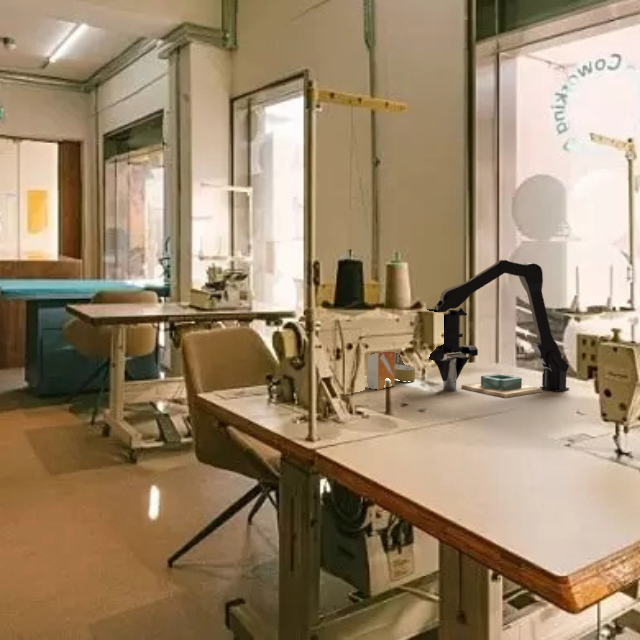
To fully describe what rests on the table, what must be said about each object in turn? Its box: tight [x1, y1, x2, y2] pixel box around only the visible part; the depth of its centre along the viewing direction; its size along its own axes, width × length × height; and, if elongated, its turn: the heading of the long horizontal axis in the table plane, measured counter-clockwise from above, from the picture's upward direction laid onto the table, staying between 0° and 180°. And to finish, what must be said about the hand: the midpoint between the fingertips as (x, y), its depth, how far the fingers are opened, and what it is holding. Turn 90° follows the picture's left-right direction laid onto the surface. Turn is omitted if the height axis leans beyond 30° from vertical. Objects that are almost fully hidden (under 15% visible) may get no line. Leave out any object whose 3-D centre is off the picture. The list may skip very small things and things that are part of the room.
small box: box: [367, 352, 396, 391], centre depth 235 cm, size 8×6×13 cm
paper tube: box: [395, 353, 416, 383], centre depth 245 cm, size 7×7×25 cm
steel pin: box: [442, 356, 457, 392], centre depth 230 cm, size 4×4×10 cm
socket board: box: [461, 373, 543, 399], centre depth 230 cm, size 18×16×4 cm
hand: (449, 380), depth 230 cm, fingers open, 4 cm apart
